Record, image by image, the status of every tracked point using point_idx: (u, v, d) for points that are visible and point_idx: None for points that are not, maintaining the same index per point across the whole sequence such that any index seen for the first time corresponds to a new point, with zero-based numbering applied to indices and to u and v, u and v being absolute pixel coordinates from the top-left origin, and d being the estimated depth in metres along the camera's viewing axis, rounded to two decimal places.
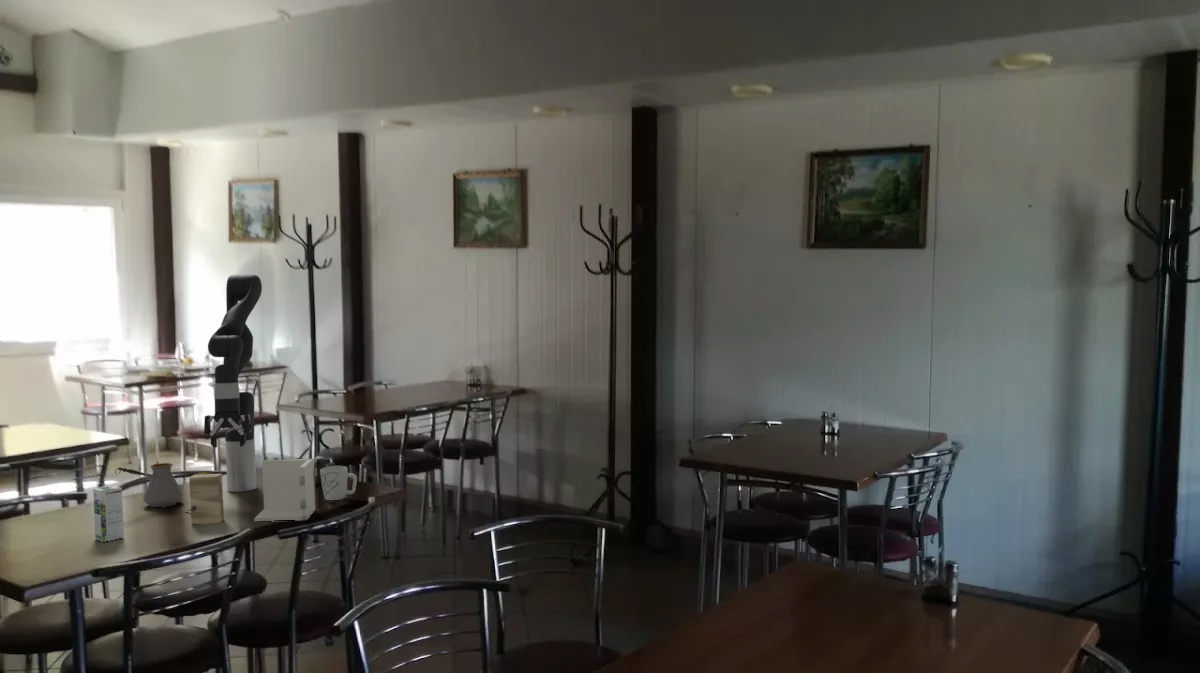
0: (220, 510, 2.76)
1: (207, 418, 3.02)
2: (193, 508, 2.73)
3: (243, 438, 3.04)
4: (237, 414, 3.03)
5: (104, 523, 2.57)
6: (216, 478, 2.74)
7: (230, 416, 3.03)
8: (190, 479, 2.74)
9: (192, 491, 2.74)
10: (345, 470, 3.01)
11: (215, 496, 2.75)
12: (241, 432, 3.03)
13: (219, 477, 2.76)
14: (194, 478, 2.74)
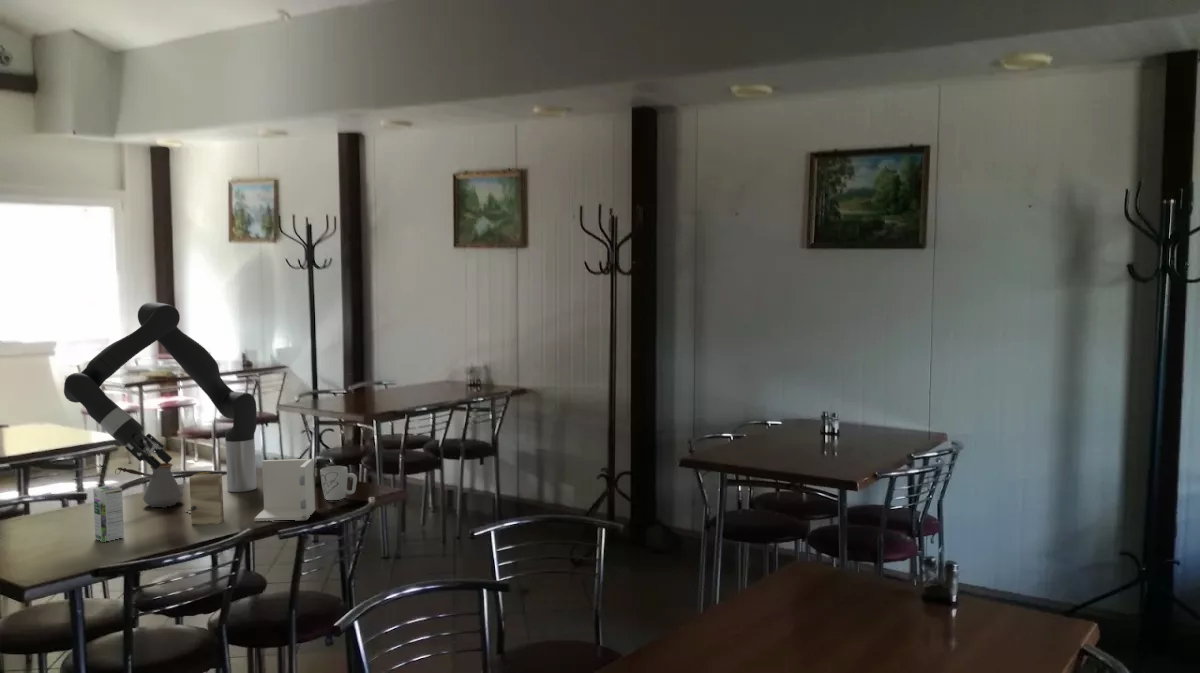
0: (220, 510, 2.76)
1: None
2: (193, 508, 2.73)
3: (149, 463, 2.69)
4: None
5: (104, 523, 2.57)
6: (216, 478, 2.74)
7: None
8: (190, 479, 2.74)
9: (192, 491, 2.74)
10: (345, 470, 3.01)
11: (215, 496, 2.75)
12: None
13: (219, 477, 2.76)
14: (194, 478, 2.74)
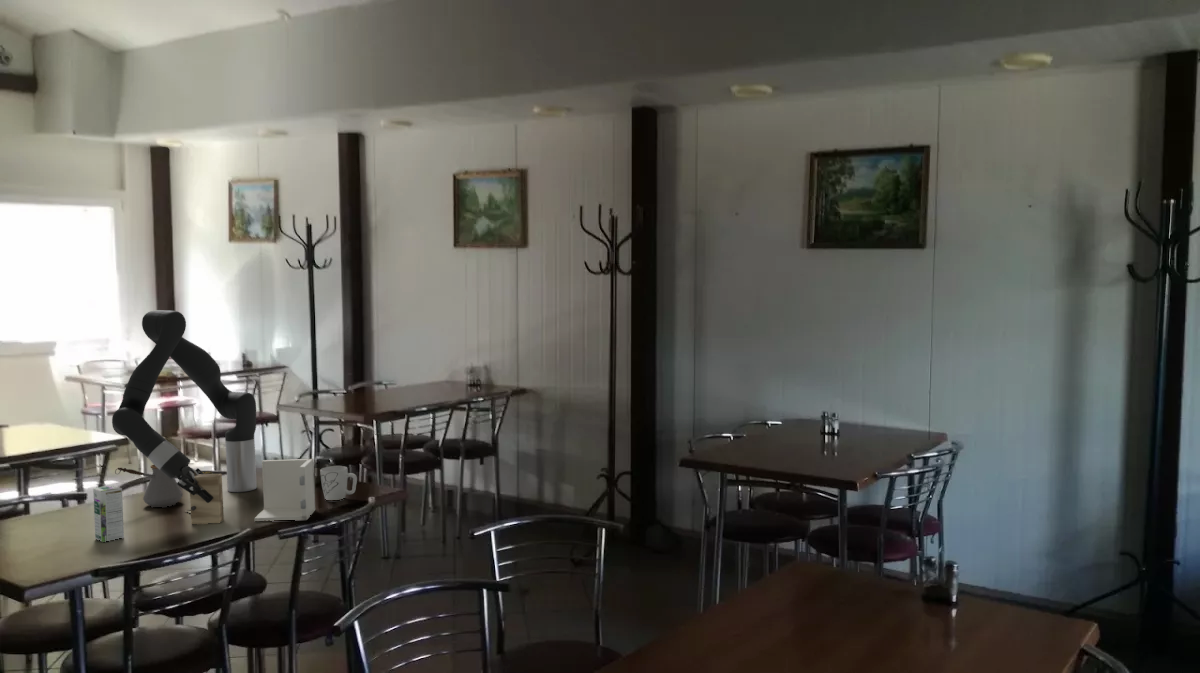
0: (220, 510, 2.76)
1: None
2: (193, 508, 2.73)
3: (201, 496, 2.73)
4: None
5: (104, 523, 2.57)
6: (216, 478, 2.74)
7: None
8: None
9: None
10: (345, 470, 3.01)
11: (215, 496, 2.75)
12: None
13: (219, 477, 2.76)
14: None
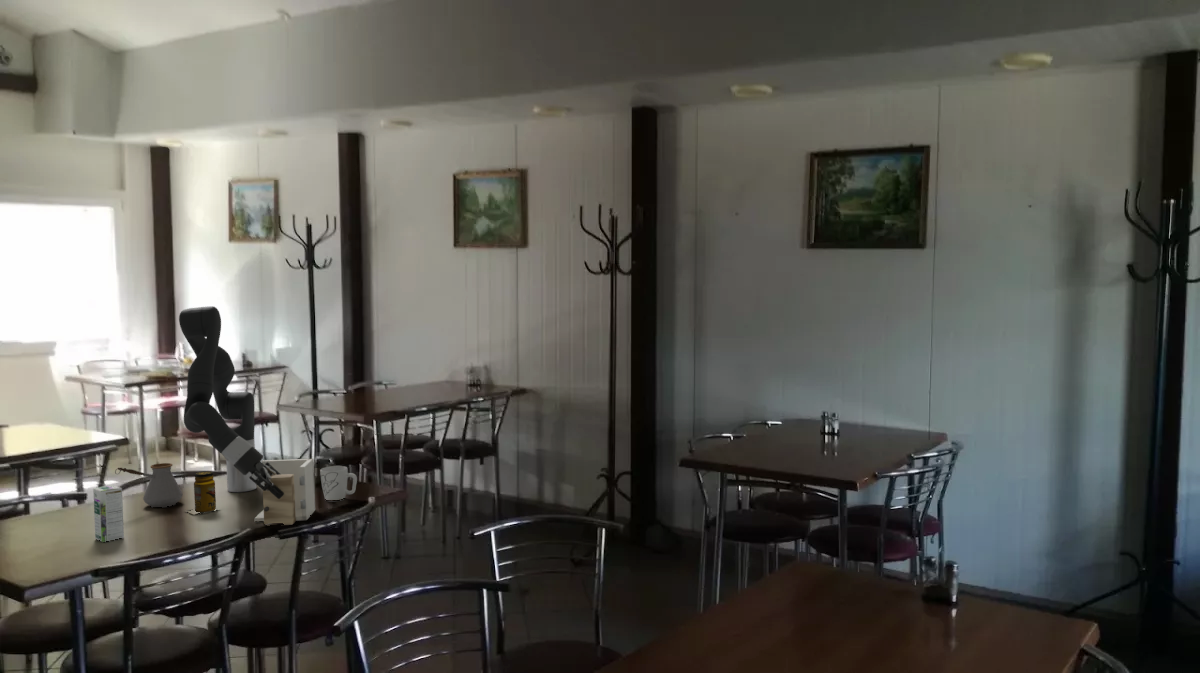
0: (293, 511, 2.74)
1: None
2: (266, 509, 2.71)
3: (272, 492, 2.70)
4: (251, 473, 2.70)
5: (104, 523, 2.57)
6: (289, 479, 2.72)
7: None
8: None
9: (265, 492, 2.72)
10: (345, 470, 3.01)
11: (288, 497, 2.72)
12: None
13: (292, 477, 2.74)
14: None
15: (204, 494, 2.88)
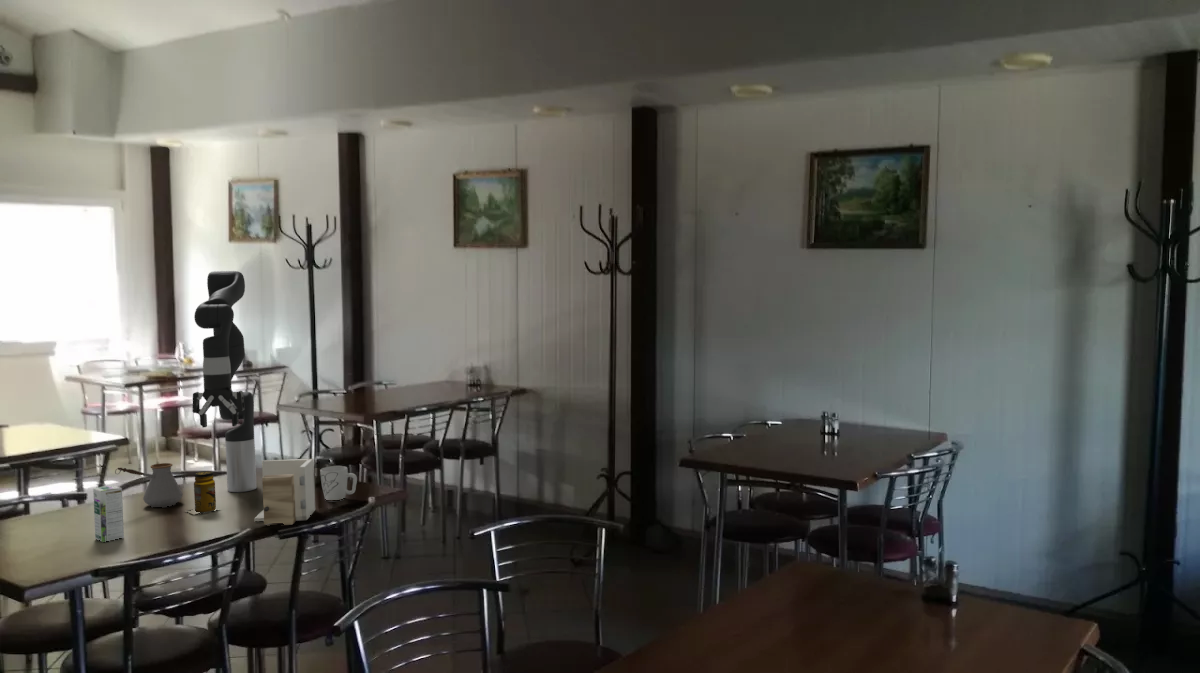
0: (293, 511, 2.74)
1: (195, 395, 2.75)
2: (266, 509, 2.71)
3: (236, 417, 2.77)
4: (228, 391, 2.76)
5: (104, 523, 2.57)
6: (289, 478, 2.72)
7: (221, 393, 2.75)
8: (263, 479, 2.71)
9: (265, 492, 2.72)
10: (345, 470, 3.01)
11: (288, 497, 2.72)
12: (233, 411, 2.76)
13: (292, 477, 2.74)
14: (267, 478, 2.71)
15: (204, 494, 2.88)
